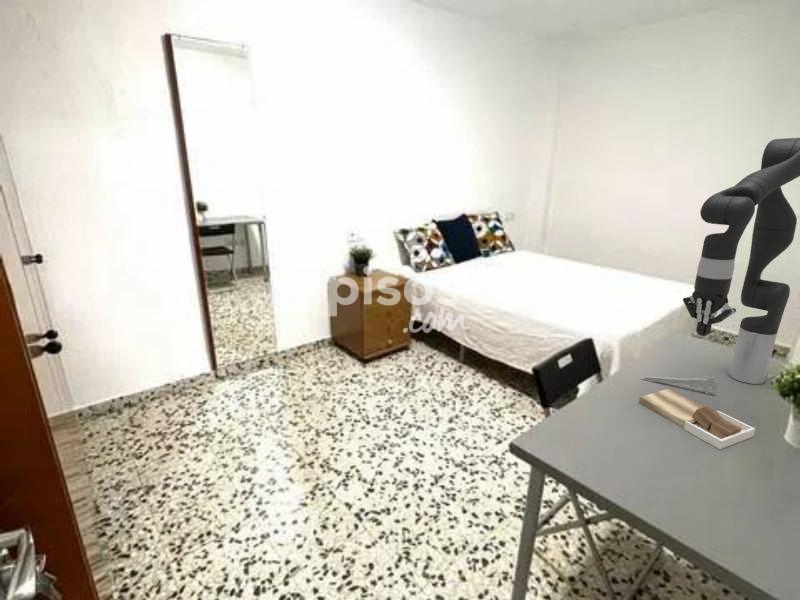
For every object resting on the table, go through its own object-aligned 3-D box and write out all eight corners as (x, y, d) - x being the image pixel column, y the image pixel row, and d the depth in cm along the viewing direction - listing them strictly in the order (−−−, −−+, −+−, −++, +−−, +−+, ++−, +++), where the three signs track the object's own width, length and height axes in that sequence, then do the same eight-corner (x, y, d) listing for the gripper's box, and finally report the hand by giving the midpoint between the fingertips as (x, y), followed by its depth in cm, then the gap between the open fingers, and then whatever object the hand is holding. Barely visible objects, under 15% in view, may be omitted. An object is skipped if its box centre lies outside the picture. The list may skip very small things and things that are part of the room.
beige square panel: (667, 394, 129) (668, 388, 128) (713, 417, 116) (715, 411, 115) (639, 402, 124) (640, 396, 124) (684, 428, 112) (685, 421, 111)
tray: (716, 418, 116) (718, 410, 115) (753, 436, 108) (755, 428, 107) (683, 429, 112) (685, 421, 111) (719, 449, 103) (721, 441, 103)
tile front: (720, 428, 111) (723, 418, 110) (739, 438, 107) (741, 428, 106) (709, 432, 109) (711, 422, 108) (727, 442, 105) (730, 432, 104)
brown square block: (702, 412, 115) (708, 405, 113) (717, 425, 111) (723, 418, 110) (691, 416, 113) (697, 409, 111) (706, 429, 110) (712, 422, 108)
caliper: (714, 395, 128) (719, 377, 126) (715, 396, 127) (719, 378, 125) (639, 378, 139) (642, 361, 137) (639, 380, 138) (642, 363, 136)
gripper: (751, 278, 103) (737, 341, 109) (698, 267, 115) (688, 324, 120) (732, 282, 101) (718, 346, 106) (679, 270, 113) (669, 329, 118)
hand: (702, 334), depth 113 cm, fingers closed
